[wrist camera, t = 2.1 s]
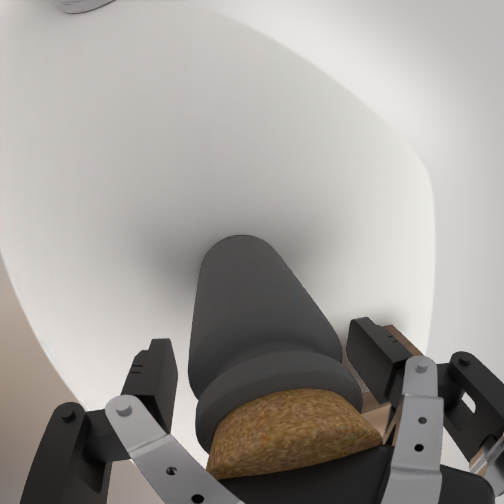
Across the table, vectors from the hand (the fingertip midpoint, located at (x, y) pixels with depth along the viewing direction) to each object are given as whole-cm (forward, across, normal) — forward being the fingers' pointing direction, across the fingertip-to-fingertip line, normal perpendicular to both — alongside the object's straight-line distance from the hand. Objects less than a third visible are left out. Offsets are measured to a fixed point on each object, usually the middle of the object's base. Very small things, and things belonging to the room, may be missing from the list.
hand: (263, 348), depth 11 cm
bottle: (+8, 0, 0) cm, 9 cm away
